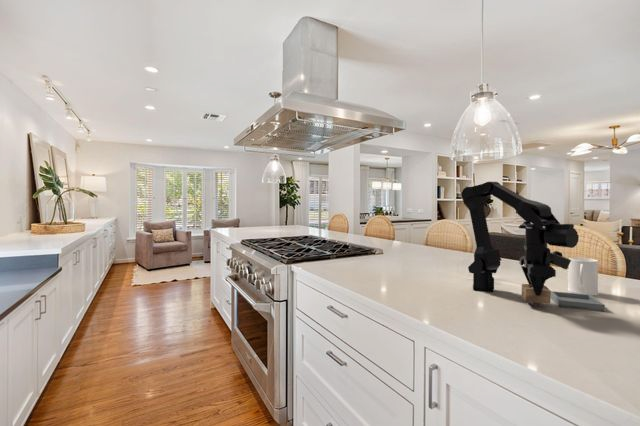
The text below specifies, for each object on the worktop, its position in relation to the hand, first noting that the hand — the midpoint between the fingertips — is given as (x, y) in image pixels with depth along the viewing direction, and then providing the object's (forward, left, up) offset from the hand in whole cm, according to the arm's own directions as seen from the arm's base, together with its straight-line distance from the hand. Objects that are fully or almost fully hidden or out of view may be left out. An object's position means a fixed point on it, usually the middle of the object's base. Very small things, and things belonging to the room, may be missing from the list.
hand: (535, 292), depth 97 cm
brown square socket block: (0, 0, -2) cm, 2 cm away
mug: (+18, +22, -4) cm, 29 cm away
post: (0, 0, -4) cm, 4 cm away
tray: (+12, +7, -4) cm, 14 cm away
